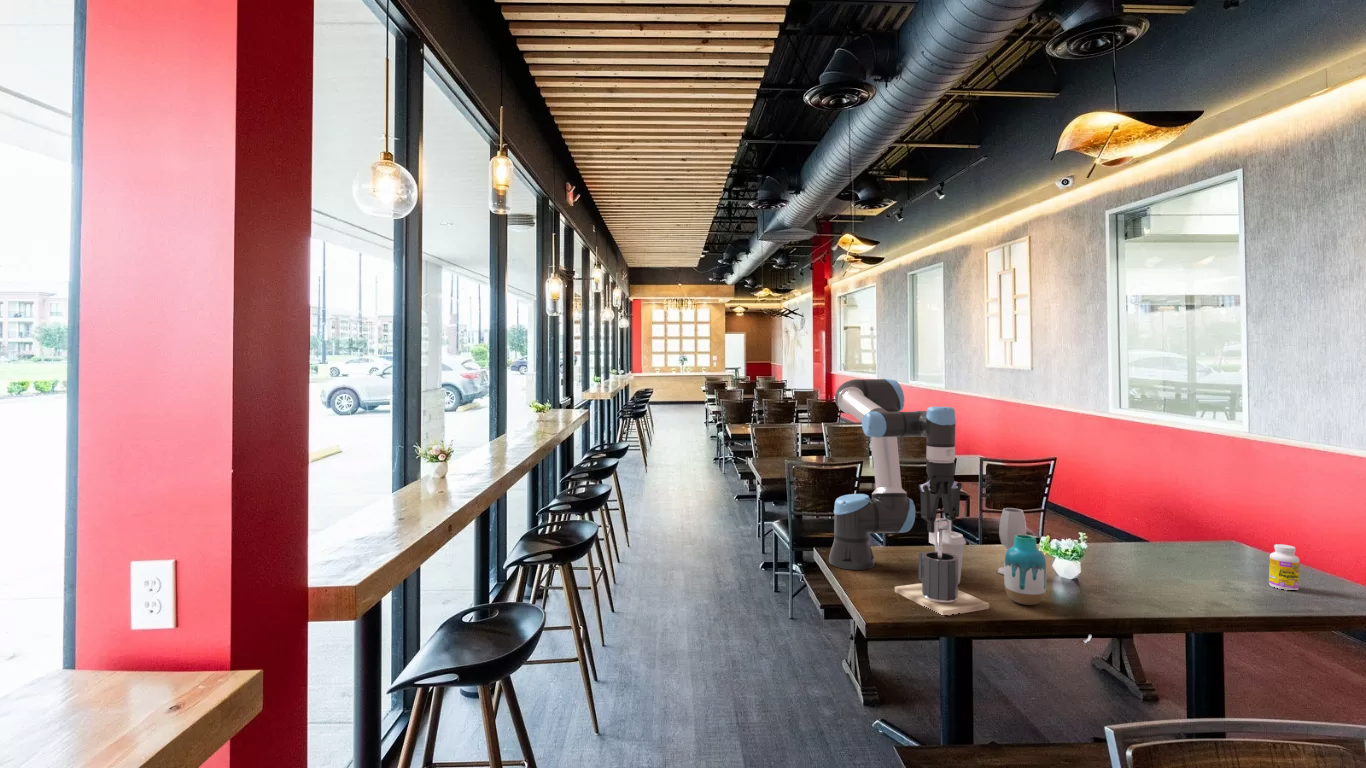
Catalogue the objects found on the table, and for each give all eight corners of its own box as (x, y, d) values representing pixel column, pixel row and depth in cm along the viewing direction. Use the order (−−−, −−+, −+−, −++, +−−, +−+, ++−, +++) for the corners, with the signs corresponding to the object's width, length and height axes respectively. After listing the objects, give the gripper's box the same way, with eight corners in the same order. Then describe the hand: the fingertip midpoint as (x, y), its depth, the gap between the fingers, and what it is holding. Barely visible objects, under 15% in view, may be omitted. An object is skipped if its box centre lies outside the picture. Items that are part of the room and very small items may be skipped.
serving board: (894, 591, 189) (894, 586, 189) (937, 585, 194) (937, 580, 194) (942, 616, 170) (942, 610, 170) (989, 608, 175) (989, 603, 175)
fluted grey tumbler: (908, 591, 185) (908, 550, 185) (933, 587, 188) (934, 547, 188) (938, 605, 173) (938, 562, 173) (964, 601, 176) (964, 559, 176)
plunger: (923, 590, 181) (924, 518, 181) (940, 587, 183) (941, 516, 183) (938, 597, 175) (939, 523, 175) (955, 594, 177) (956, 521, 177)
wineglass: (1021, 580, 199) (1021, 514, 199) (992, 573, 206) (993, 509, 205) (1031, 574, 205) (1032, 510, 204) (1003, 567, 211) (1004, 505, 211)
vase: (1028, 612, 172) (1029, 543, 172) (995, 599, 182) (996, 533, 182) (1054, 606, 177) (1055, 538, 176) (1021, 594, 186) (1021, 530, 186)
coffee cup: (968, 587, 192) (968, 538, 192) (935, 585, 194) (935, 537, 194) (961, 577, 202) (961, 531, 201) (929, 575, 203) (930, 529, 203)
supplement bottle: (1275, 590, 190) (1276, 547, 189) (1264, 583, 196) (1265, 542, 196) (1304, 592, 187) (1305, 550, 187) (1291, 585, 194) (1292, 544, 193)
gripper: (925, 464, 172) (924, 549, 173) (974, 461, 178) (973, 543, 178) (907, 460, 179) (906, 542, 180) (954, 457, 185) (954, 536, 185)
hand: (940, 542), depth 179 cm, fingers closed on plunger, 4 cm apart
